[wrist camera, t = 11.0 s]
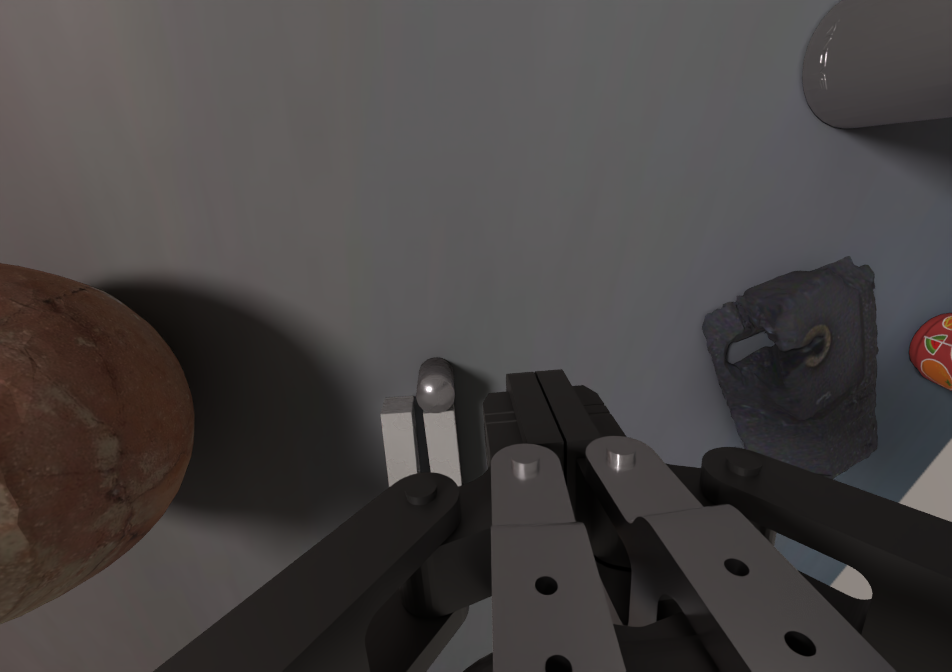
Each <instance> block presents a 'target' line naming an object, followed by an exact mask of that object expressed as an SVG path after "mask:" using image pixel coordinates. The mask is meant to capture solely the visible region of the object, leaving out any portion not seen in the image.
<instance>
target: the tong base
mask: <svg viewBox="0 0 952 672" xmlns="http://www.w3.org/2000/svg"><path fill="white" fill-rule="evenodd" d="M416 399H417V402H418V404H419V406H420V407H421V408H422V409H423V410H425V411H427V412H429V413H442V412H444V411H446V410H448V409H449V408H450V407H451V406H452V404H453V402H454V399H455V390H454V371H453V368H452V366H451V364H450V363H449V362H448V361H446V360H445V359H442V358H430V359H428V360H426V361H425V362H424V363H423V364H422V365H421V367H420V370H419V377H418V385H417V393H416ZM381 422H382V431H383V439H384V447H385V456H386V464H387V472H388V481H389V487H390V486H392V485H393V484H394V483H396V482H397V481H399V480H400V479H402V478H404V477H407V476H409V475H413V474H416V473H421V472H420V461H419V450H418V439H417V429H416V418H415V407H414V396H405V397H390V398H385V399H384V403H383V407H382V411H381Z"/></svg>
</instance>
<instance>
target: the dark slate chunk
mask: <svg viewBox="0 0 952 672" xmlns="http://www.w3.org/2000/svg"><path fill="white" fill-rule="evenodd" d="M874 290H875V285H874V272H873V271H872V269H871V268H870V267H869V266H868V265H863V266H861V267H858V266H855V265H854V264H853V263H852V260H851V257H850V256H847V257H845V258H843V259H841V260H839V261H837V262H834V263H831V264H828V265H825V266H823V267H820V268H818V269H815V270H812V271H794V272H791V273H788V274H785V275H782V276H778V277H776V278H774V279H772V280H770V281H767V282H765V283H762V284H760V285H757V286H754V287H752V288H750V289H748V290H746V291H745V293H744V295H743V296H737V301H736V302H729V303H726V304H723V308H721V309H717V310H715V311H714V312H713V313H709V314H707V315H706V316H705V321H704V323H703V326H702V330H703V333H704V335H705V337H706V339H707V347H708V351H709V353H710V354H711V356H712V361H713V363H714V366H715V371H716V374H717V376H718V380H719V385H720V387H721V388H722V393H723V395H724V398H725V399H726V400H727V405H728V406H729V408H730V409H731V417H732V418H733V419H734V421H735V424H736V427H737V431H738V434H739V436H740V438H741V439H742V442H744V447H745V449H747V450H751V451H754V452H757V453H760V454H763V455H766V456H768V457H771V458H774V459H777V460H780V461H782V462H785V463H788V464H791V465H794V466H796V467H799V468H802V469H805V470H807V471H810V472H813V473H816V474H819V475H821V476H824V477H827V478H830V479H834V478H835V477H836V476H837V475H839V474H841V473H843V472H844V471H846V470H848V469H849V468H850V467H852V466H853V465H855V464H856V463H858V462H860V461H862V460H863V459H866V458H868V457H869V456H870V454H871V453H872V452H874V451H875V450H876V449H877V438H878V436H877V421H876V417H875V407H876V392H875V387H876V378H877V362H876V355H877V353H878V348H877V325H876V322H875V321H876V304H875V297H874V294H873V293H874ZM739 304H740V305H739ZM736 305H738V309H737V307H736ZM763 330H764V331H766V332H765V333H767V334H768V337H769V339H771V340H772V341H774V343H775V345H774V346H772V347H763V348H761V349H759V350H757V351H755V352H754V353H752V354H750V355H749V356H747V357H746V358H744V359H742V360H741V361H739V362H736V363H735V364H730V363H728V362H727V361H726V360H725V359H726V354H727V348H728V346H729V344H730V343H731V342H738V341H740V340H742V339H745V338H748V337H750V336H752V335H754V334H757V333H759V332H760V331H763ZM765 333H764V334H765Z"/></svg>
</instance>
